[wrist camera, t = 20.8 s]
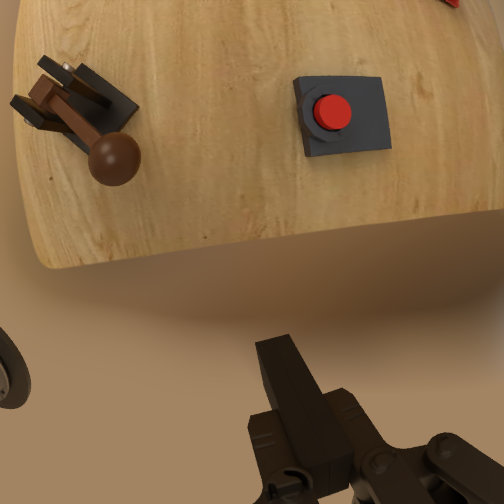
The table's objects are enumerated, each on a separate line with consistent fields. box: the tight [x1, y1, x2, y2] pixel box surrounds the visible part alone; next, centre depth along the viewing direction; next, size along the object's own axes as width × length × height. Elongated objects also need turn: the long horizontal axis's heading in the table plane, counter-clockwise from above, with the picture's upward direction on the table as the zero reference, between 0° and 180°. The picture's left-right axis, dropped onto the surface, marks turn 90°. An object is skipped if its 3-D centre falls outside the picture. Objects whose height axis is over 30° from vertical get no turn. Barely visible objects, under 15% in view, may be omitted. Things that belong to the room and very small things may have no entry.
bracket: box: [10, 55, 139, 155], centre depth 24 cm, size 10×8×14 cm
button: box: [314, 95, 351, 130], centre depth 32 cm, size 4×4×2 cm
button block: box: [293, 76, 392, 157], centre depth 34 cm, size 13×10×4 cm
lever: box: [28, 74, 141, 186], centre depth 18 cm, size 14×4×4 cm, turn 48°
